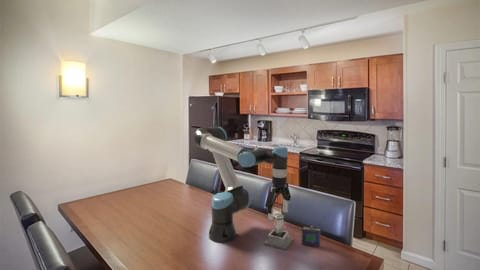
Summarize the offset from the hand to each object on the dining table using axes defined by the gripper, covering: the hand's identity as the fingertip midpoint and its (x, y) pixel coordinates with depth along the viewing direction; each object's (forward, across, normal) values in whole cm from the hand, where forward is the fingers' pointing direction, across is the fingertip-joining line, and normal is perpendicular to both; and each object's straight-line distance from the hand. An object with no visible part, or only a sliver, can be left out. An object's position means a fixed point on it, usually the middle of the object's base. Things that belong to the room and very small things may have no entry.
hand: (278, 215), depth 139 cm
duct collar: (+15, 0, -1) cm, 15 cm away
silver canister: (+14, 0, -1) cm, 14 cm away
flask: (+14, +9, -15) cm, 23 cm away
